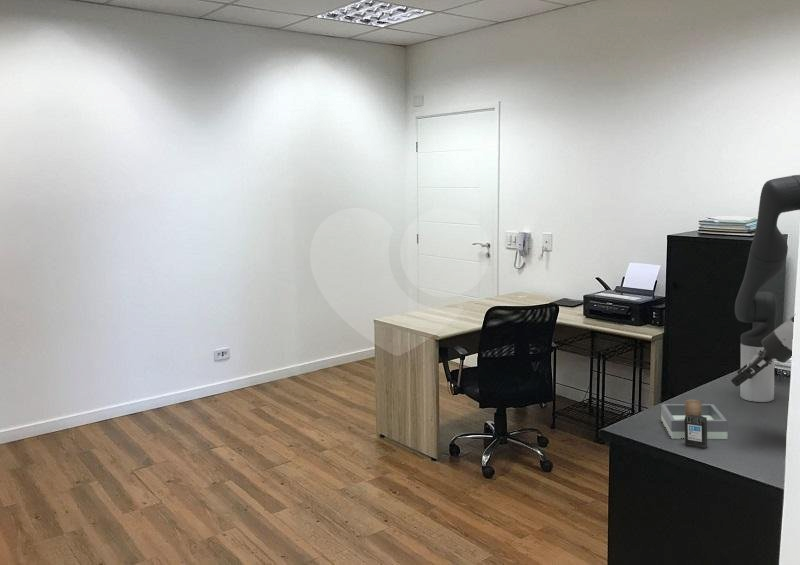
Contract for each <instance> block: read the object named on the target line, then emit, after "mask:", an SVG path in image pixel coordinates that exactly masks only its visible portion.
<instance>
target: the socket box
mask: <svg viewBox="0 0 800 565" xmlns="http://www.w3.org/2000/svg"><path fill="white" fill-rule="evenodd" d="M660 405H661V407H660V411H661V414H660V416H661V417H660V418H661V422H663V423H662V425H663V426H664V428H665V427H666V428H665V430H666V429H667V430H666V431H668V432H667V434H668V435H669V436H671V437H670V438H672V439H671V440H675V439H676V440H681V438H682V440H685V425H684V420H685V403H684V404H683V403H682V404H681V403H672V404H671V403H662V404H660ZM701 416H703V417H706V418H707V440H728V420H727V419H726V417H725V416H724V415H723V413H721V412H720V410H718V408H717V407H716V405H714V403H701ZM683 438H684V439H683Z"/></svg>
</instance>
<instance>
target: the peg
mask: <svg viewBox="0 0 800 565" xmlns="http://www.w3.org/2000/svg"><path fill="white" fill-rule="evenodd" d="M684 404H685V417H686V416H687V415H695V416H701V404H702V401H701V400H698V399H685V401H684Z"/></svg>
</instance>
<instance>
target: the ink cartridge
mask: <svg viewBox="0 0 800 565" xmlns="http://www.w3.org/2000/svg"><path fill="white" fill-rule="evenodd" d="M684 425H685V439H684V445H685V446H686V447H691V448H697V449H701V450H702V449H703V450H704V449H706V448H707V446H708V439H707V418H706V417H703V416H695V415H687V416H686V417H685V420H684Z"/></svg>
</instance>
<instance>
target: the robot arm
mask: <svg viewBox="0 0 800 565" xmlns="http://www.w3.org/2000/svg"><path fill="white" fill-rule="evenodd" d="M794 211H800V174H794V175H788V176H782V177H777V178H773V179H769V180H767V181H766V182H764V183H763V186H762V188H761V192H760V197H759V204H758V212H757V220H756V226H755V231H754V235H753V239H752V243H751V246H750V248H749V254H748V258H747V263H746V267H745V272H744V276H743V279H742V282H741V285H740V288H739V290H738V292H737V296H736V299H735V303H734V314H735V317H736V319H737V320H738V321H739V322H742V323H759V324H758V325H757V326H756V327H755V328H753V329H751V330H748V331H745V332H743V333H742V334H740V369H739V370H737V374H736V375H735V376H734V377H732V378H731V380H730V382H731V383H732V384H733V385H734V386H735V387H739V386H740V390H739V392H740V394H739V395H740V398H741V399H742V400H745V401H748V402H749V401H750V402H756V403H767V402H772V401H773V400H775V360H776V361H778V362H779V363H786V362H787V361H789V360H790V359H791V358H792V357H791V356H792V339H793V322H794V316H795V315H793V316H792V317H791V318H789V319H788V320H786V321H785V322H782V324H780V325H779V326H777V317H778V316H777V314H778V302H777V298H776V295H775V294H774V293H773V292H771V291H759V290H760V289H761V288H762V287H764V286H765V285H767V284H768V282H771V280H773V279H774V278H775V277H776V276H777V275H778V274H780V272H781V271H782V270H783V267H784V265H785V263H786V259H787V255H788V251H789V246H788V242H787V240H786V238H785V237H784V235H783V234H782V232H781V231H780V230H779V228H778V226H777V225H778V219H779V216H780V215H781V214H782V213H783V214H784V213H789V212H794ZM776 326H777V327H776Z"/></svg>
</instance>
